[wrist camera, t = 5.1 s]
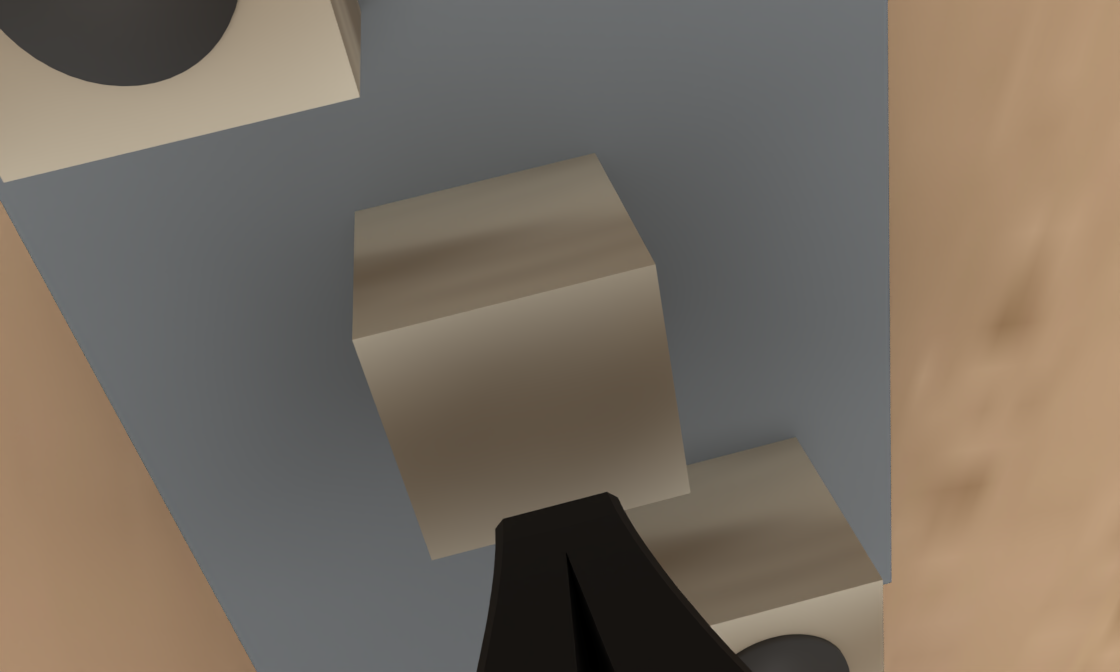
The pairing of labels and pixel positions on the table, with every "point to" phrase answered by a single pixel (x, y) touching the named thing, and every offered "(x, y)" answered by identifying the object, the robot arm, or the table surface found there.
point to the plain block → (516, 350)
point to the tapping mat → (450, 161)
